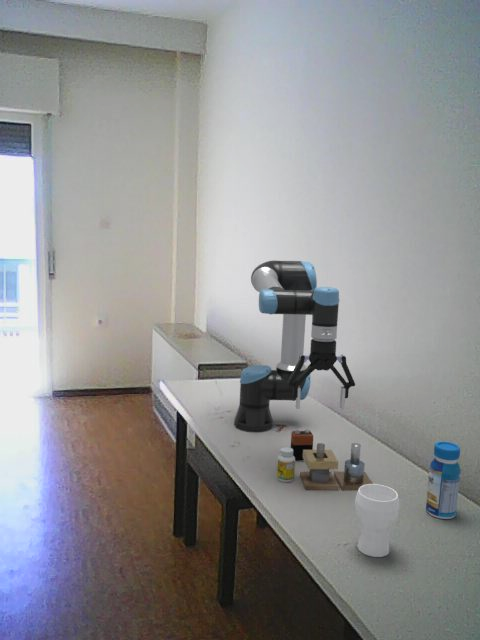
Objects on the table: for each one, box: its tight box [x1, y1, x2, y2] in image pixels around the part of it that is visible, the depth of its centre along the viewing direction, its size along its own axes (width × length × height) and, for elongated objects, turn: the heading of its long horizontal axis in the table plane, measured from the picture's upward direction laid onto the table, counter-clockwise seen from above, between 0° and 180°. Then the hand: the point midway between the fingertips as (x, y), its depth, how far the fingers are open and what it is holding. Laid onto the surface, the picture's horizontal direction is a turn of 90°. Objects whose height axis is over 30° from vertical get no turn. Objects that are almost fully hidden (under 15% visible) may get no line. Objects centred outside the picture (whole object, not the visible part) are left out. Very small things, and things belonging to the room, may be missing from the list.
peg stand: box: [333, 442, 374, 491], centre depth 183 cm, size 10×10×12 cm
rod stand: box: [299, 442, 340, 491], centre depth 182 cm, size 10×10×12 cm
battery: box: [290, 428, 314, 462], centre depth 201 cm, size 4×7×10 cm, turn 97°
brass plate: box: [303, 449, 339, 470], centre depth 182 cm, size 9×9×2 cm
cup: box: [354, 483, 400, 558], centre depth 146 cm, size 11×11×15 cm
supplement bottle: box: [276, 446, 296, 483], centre depth 185 cm, size 5×5×10 cm
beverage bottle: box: [425, 441, 462, 520], centre depth 166 cm, size 8×8×20 cm
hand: (319, 408), depth 180 cm, fingers open, 13 cm apart
